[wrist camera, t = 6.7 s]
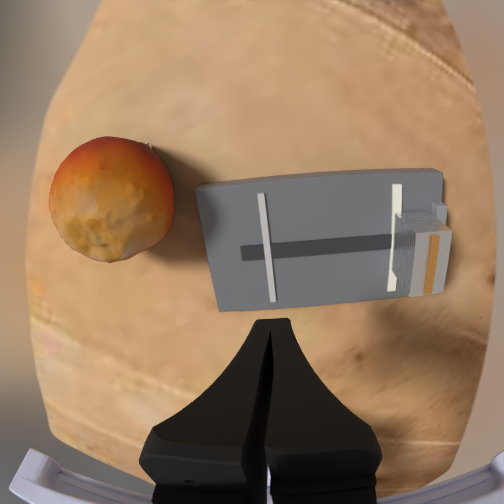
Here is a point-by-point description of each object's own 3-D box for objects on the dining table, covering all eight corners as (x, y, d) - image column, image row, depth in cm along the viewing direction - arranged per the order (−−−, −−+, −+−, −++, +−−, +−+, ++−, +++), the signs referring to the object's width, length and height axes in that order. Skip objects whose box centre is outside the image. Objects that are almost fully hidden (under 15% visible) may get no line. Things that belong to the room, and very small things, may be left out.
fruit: (162, 91, 16) (121, 176, 12) (197, 182, 23) (183, 275, 18) (62, 127, 17) (8, 210, 13) (108, 199, 24) (80, 283, 19)
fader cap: (421, 266, 19) (443, 294, 16) (391, 269, 19) (410, 299, 16) (427, 211, 17) (454, 231, 14) (394, 213, 18) (417, 234, 14)
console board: (423, 282, 21) (435, 298, 19) (222, 300, 23) (217, 318, 21) (432, 168, 18) (448, 174, 16) (200, 184, 20) (191, 192, 18)
